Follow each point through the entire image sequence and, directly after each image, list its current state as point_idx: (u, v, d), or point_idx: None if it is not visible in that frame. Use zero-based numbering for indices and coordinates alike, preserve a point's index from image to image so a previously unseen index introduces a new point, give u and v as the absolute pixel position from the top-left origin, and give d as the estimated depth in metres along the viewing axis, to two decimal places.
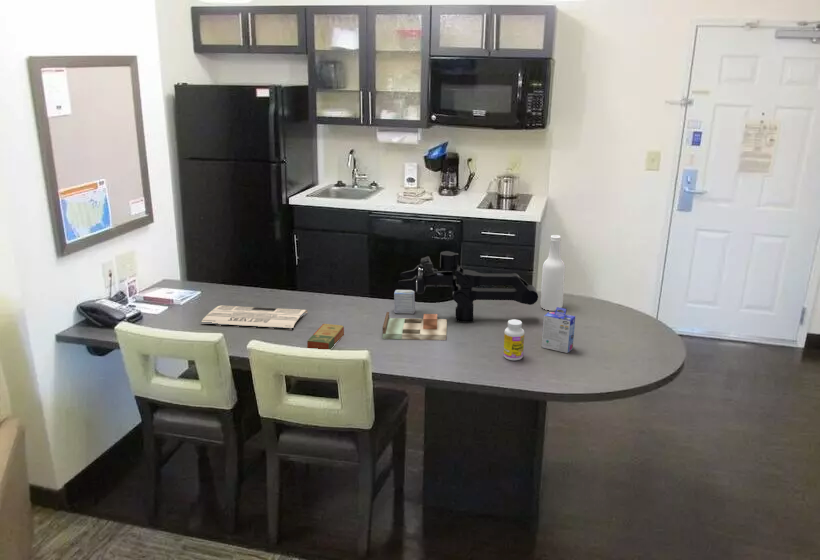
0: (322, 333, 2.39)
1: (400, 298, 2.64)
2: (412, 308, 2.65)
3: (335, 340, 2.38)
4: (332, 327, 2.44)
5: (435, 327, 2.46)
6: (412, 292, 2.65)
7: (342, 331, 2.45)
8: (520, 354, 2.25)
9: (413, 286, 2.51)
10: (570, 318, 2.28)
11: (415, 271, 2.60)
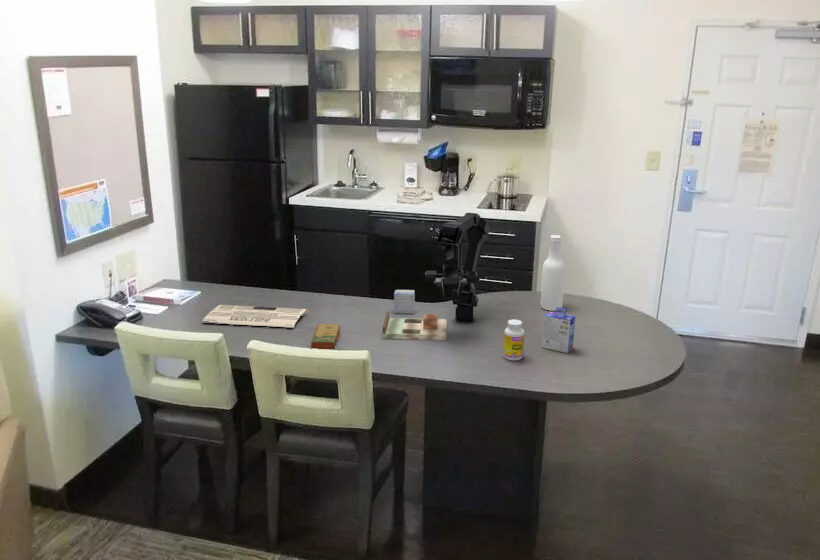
0: (322, 333, 2.39)
1: (400, 298, 2.64)
2: (412, 308, 2.65)
3: (336, 339, 2.39)
4: (329, 326, 2.44)
5: (435, 327, 2.46)
6: (412, 292, 2.65)
7: (339, 330, 2.46)
8: (520, 354, 2.25)
9: None
10: (570, 318, 2.28)
11: (442, 284, 2.42)
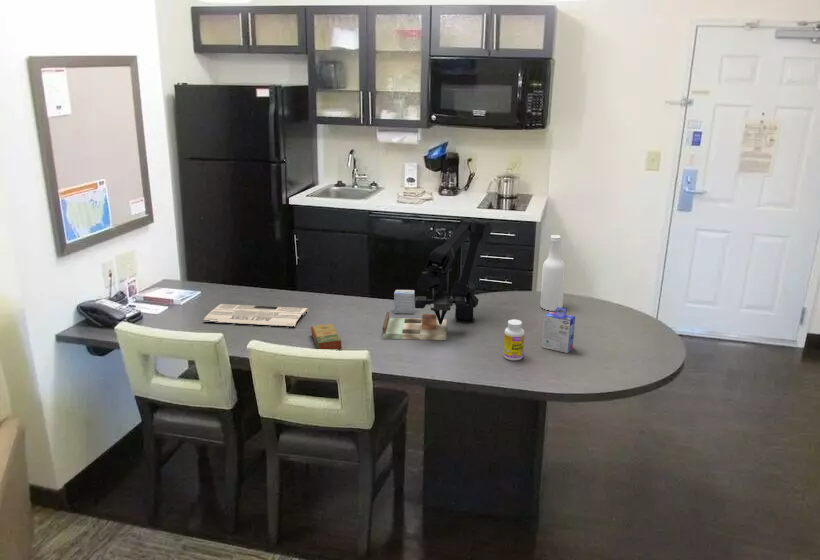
0: (323, 333, 2.39)
1: (400, 298, 2.64)
2: (412, 308, 2.65)
3: None
4: (325, 326, 2.44)
5: (434, 327, 2.46)
6: (412, 292, 2.65)
7: None
8: (520, 354, 2.25)
9: None
10: (570, 318, 2.28)
11: (439, 310, 2.45)
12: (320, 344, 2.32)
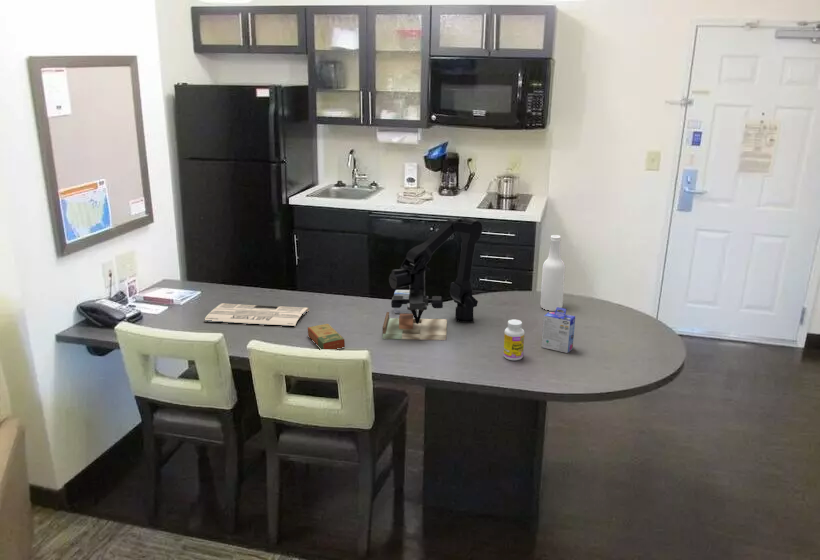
0: (323, 333, 2.39)
1: None
2: None
3: None
4: (322, 327, 2.44)
5: (411, 327, 2.46)
6: None
7: None
8: (520, 354, 2.25)
9: None
10: (570, 318, 2.28)
11: (415, 309, 2.45)
12: (324, 344, 2.32)
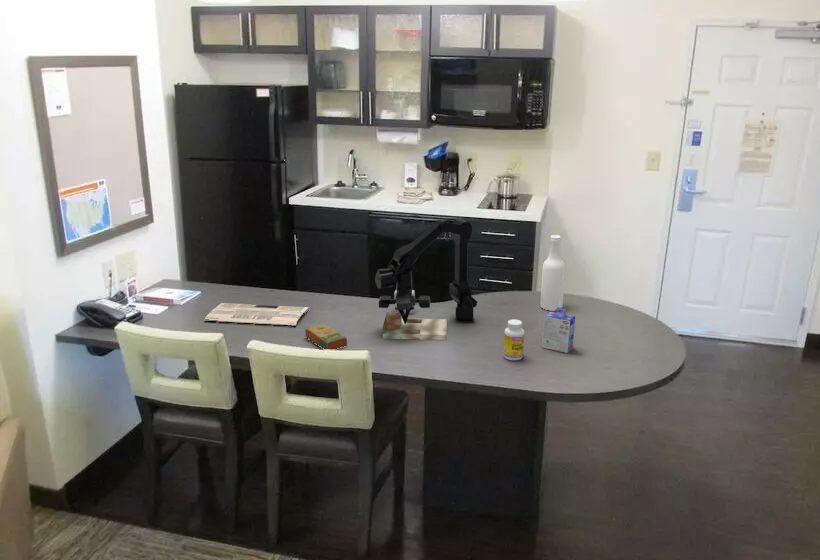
0: (323, 333, 2.38)
1: None
2: None
3: None
4: (320, 327, 2.44)
5: (398, 327, 2.46)
6: (412, 292, 2.65)
7: None
8: (520, 354, 2.25)
9: None
10: (570, 318, 2.28)
11: (403, 309, 2.46)
12: (328, 344, 2.32)
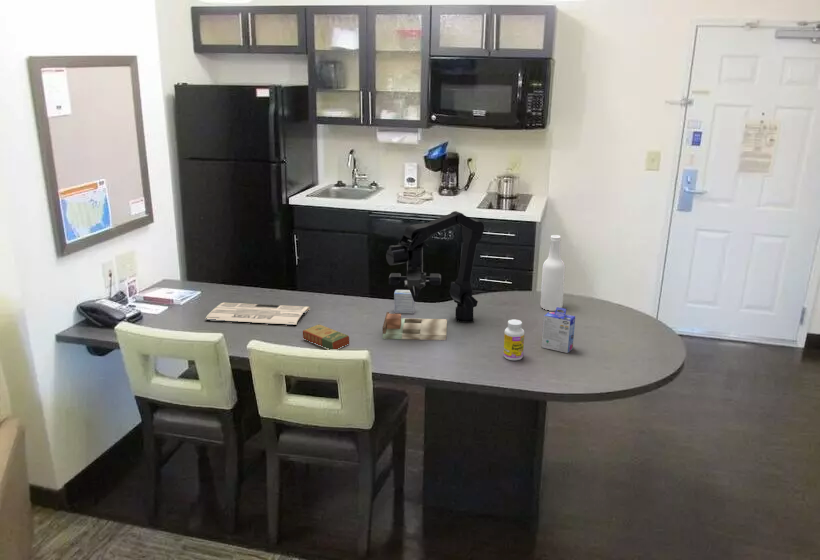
0: (324, 333, 2.38)
1: (400, 298, 2.64)
2: (412, 308, 2.65)
3: None
4: (317, 328, 2.43)
5: (398, 327, 2.46)
6: None
7: None
8: (520, 354, 2.25)
9: None
10: (570, 318, 2.28)
11: (413, 287, 2.43)
12: (333, 343, 2.32)
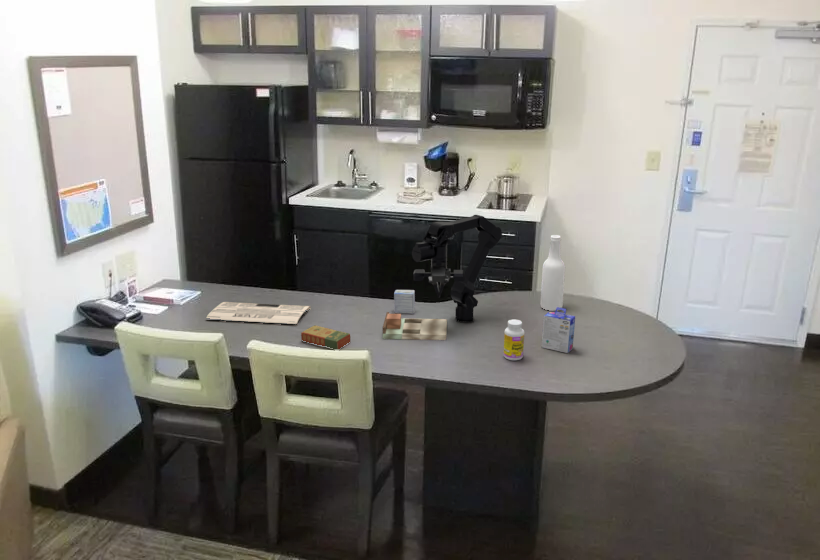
0: (325, 334, 2.38)
1: (400, 298, 2.64)
2: (412, 308, 2.65)
3: None
4: (315, 328, 2.43)
5: (398, 327, 2.46)
6: (412, 292, 2.65)
7: None
8: (520, 354, 2.25)
9: None
10: (570, 318, 2.28)
11: (437, 283, 2.46)
12: (338, 342, 2.33)
